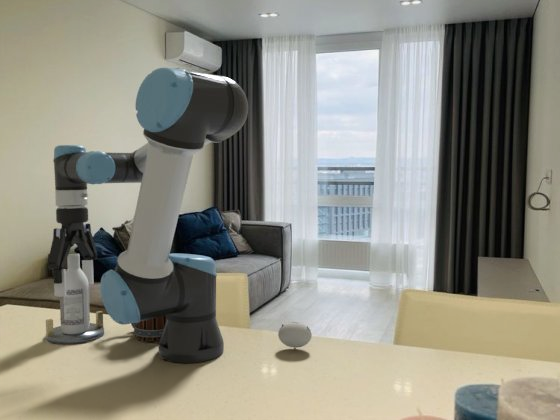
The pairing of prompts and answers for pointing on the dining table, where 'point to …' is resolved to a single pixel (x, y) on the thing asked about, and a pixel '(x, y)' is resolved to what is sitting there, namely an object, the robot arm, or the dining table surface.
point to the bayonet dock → (65, 339)
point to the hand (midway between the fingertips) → (75, 290)
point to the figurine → (294, 334)
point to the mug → (149, 329)
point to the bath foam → (75, 299)
